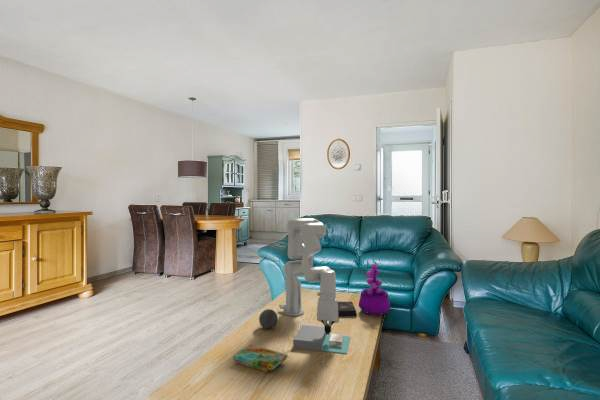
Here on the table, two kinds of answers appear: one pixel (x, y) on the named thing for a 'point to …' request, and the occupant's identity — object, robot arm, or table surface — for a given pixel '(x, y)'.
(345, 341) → the mat
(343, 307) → the portable cd player
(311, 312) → the table surface
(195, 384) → the table surface
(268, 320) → the decorative ball
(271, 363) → the puzzle game
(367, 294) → the decorative plant
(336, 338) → the tile
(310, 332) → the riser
